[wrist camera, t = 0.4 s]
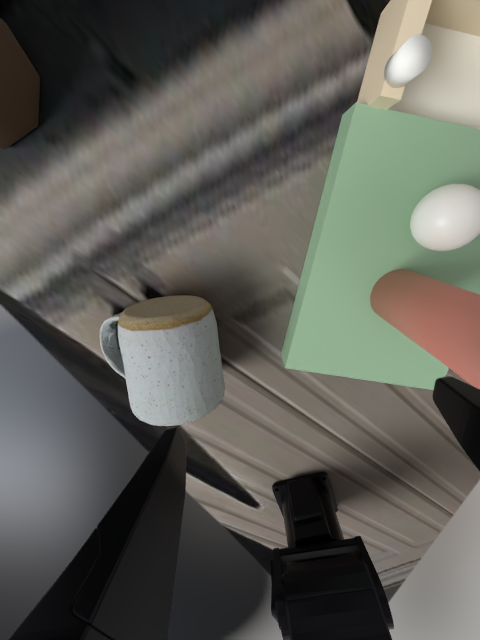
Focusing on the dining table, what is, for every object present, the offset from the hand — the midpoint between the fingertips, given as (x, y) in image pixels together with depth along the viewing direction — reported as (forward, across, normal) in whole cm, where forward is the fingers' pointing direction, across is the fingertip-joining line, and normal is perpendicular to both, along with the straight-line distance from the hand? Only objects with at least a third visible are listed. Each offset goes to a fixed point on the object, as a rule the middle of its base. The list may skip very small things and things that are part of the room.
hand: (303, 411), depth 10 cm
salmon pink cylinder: (+12, -10, +4) cm, 16 cm away
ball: (+11, -12, -2) cm, 16 cm away
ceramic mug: (+15, +10, +4) cm, 18 cm away
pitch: (+15, -10, +2) cm, 18 cm away
